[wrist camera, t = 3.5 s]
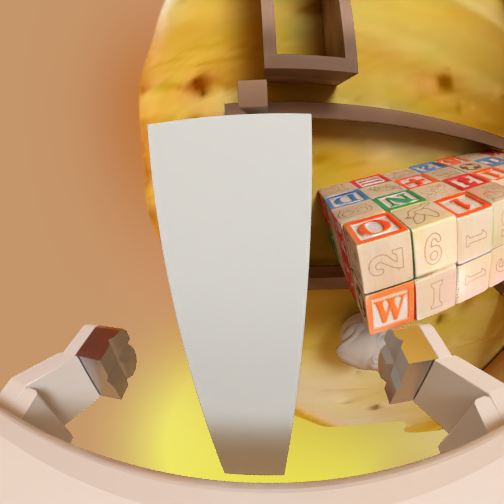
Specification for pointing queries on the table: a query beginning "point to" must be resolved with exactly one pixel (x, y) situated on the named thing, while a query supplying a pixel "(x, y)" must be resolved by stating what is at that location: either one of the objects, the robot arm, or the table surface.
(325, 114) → the rack
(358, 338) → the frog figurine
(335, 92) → the table surface
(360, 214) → the stack of blocks
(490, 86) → the table surface
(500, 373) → the log
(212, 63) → the table surface
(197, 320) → the sheet
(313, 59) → the holder
